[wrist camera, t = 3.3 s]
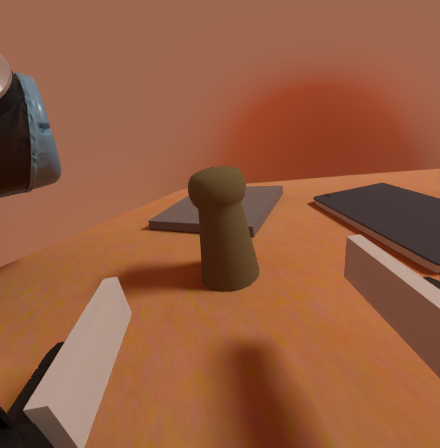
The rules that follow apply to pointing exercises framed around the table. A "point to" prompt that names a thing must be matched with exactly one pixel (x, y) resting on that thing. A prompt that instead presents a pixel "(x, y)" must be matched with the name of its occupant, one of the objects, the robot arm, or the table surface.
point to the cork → (223, 228)
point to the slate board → (189, 218)
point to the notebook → (392, 219)
